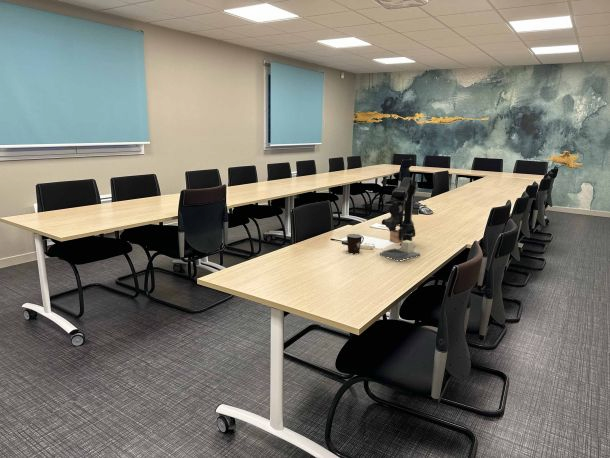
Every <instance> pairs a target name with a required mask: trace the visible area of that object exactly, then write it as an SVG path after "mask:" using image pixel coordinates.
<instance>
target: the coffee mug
mask: <svg viewBox="0 0 610 458" xmlns="http://www.w3.org/2000/svg"><path fill="white" fill-rule="evenodd" d="M364 239H365V237H364V236H363V235H362V234H358V233H348V234H347V235H346V240H347V252H349V253H348V254H350V253H353V254H352V255H356V254H355V253H358V254H360V250H361V245H362V244H363V242H364Z"/></svg>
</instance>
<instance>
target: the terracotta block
mask: <svg viewBox="0 0 610 458" xmlns="http://www.w3.org/2000/svg"><path fill="white" fill-rule="evenodd" d="M389 242H391V243H392V244H393V243H394V244H400V243H401V242H403V238H402V240H401V241H399V230H398V229H396V230H393V231H390V230H389Z"/></svg>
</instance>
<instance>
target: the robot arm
mask: <svg viewBox="0 0 610 458" xmlns="http://www.w3.org/2000/svg"><path fill="white" fill-rule="evenodd" d="M418 186H419V185H418V182H417V181H416V180H414V179H413V177H403V178H402V181H401V183H400V185H399V186H398V187H395V188H394V189H393V190H392V191H391V192H392V193H391V196H390V200H389V202H390V203H392V204H391V205H390V206H389V208H388V212H389V214H390V216H389V217H388V218H384V219H382V220H381V225H383V226H385V227H386V228H387V229H388V230H389V232H390V231H393V230H399V241H401V240H402V238H403V241H405V240H409V241H413V238H414V237H416V229H415V223H414V221H413V220H412V219H413V218H412V217H413V202H414V195H415V194H416V193H417V190H418ZM397 227H398V228H399V229H397ZM399 244H400V245H399V246H401V243H399Z"/></svg>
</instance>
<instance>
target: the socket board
mask: <svg viewBox="0 0 610 458" xmlns="http://www.w3.org/2000/svg"><path fill="white" fill-rule="evenodd" d="M400 246H401V247H400V248H399V247H398V248H395V247H394V248H391V249H386V250H383V251H382V252H380V253H379V256H380V255H382V256H381V257H383V256H385V257H384V258H386V257H389V258H392V259H395V260H398V261H400V260H403V259H407V258H411V257H416V256H420V257H421V253H419V252H415V251H414V250H415V241H413V240H412V241H409V240H405V241H403V242H401V245H400ZM389 258H388V259H389ZM416 258H417V257H416ZM392 259H391V260H392ZM395 260H394V261H395ZM398 261H397V262H398ZM400 262H401V261H400Z"/></svg>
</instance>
